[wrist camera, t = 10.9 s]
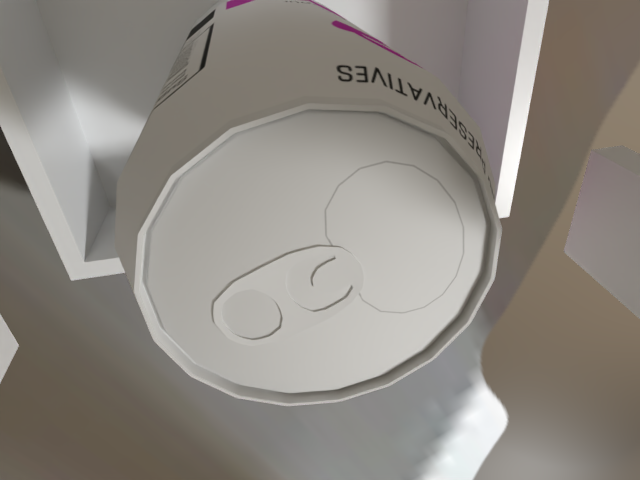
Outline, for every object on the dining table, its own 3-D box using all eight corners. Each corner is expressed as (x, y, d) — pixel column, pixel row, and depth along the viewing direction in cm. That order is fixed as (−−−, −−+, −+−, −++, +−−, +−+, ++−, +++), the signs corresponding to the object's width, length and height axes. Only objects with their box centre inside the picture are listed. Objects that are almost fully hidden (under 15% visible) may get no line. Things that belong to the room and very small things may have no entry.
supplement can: (309, -54, 19) (471, -55, 6) (381, 122, 23) (558, 329, 11) (138, 43, 19) (-25, 217, 7) (240, 195, 24) (250, 466, 11)
